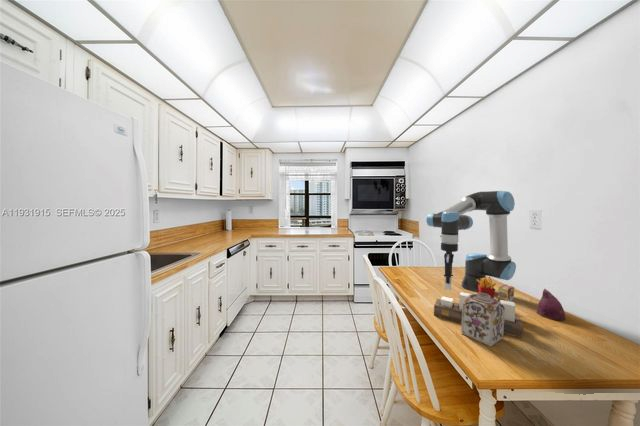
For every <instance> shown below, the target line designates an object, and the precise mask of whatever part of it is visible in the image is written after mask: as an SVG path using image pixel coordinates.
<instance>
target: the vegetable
mask: <svg viewBox="0 0 640 426" xmlns="http://www.w3.org/2000/svg"><path fill="white" fill-rule="evenodd" d="M536 307H537V308H536V314H537V315H539V316H541V317H542V318H546V319H549V320H553V321H560V322H561V321H565V320H566V314H565V311H564V308H563V305H562V304H561V302H560V301H559V299H558V298H557V297H556V296H555V295H554V294H552V293H551V292H550V291H549V290H548V289H546V288H544V289H543V290H542V296H541V298H540V299H539V302H538V304H537V306H536Z"/></svg>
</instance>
